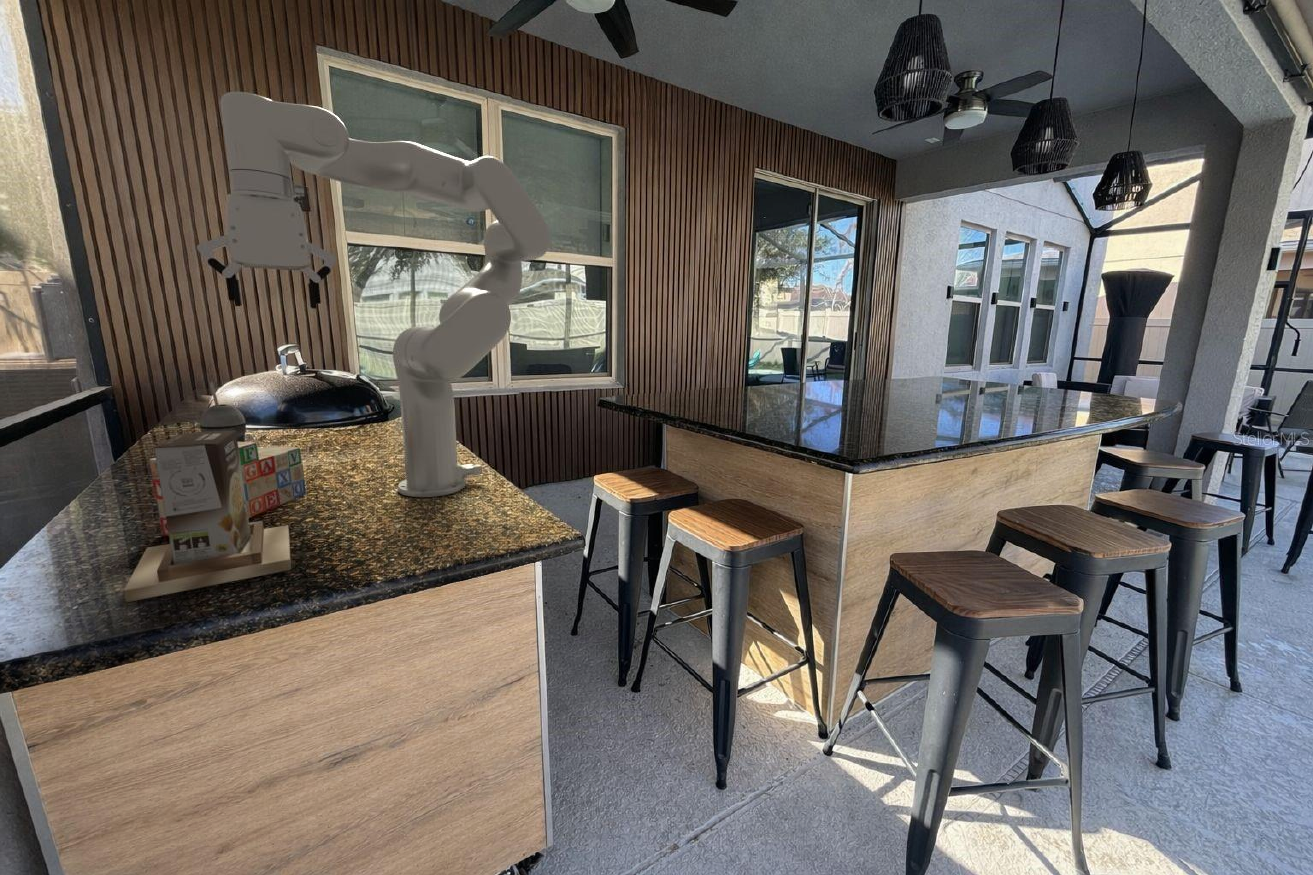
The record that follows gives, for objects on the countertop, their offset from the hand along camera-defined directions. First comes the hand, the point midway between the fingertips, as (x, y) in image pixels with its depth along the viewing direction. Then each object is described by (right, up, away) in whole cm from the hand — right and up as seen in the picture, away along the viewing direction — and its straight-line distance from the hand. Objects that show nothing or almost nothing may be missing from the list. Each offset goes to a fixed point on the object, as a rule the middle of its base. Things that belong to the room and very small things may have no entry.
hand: (277, 307), depth 83 cm
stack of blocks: (-11, -34, +7) cm, 36 cm away
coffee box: (0, -36, -11) cm, 38 cm away
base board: (0, -38, -11) cm, 39 cm away
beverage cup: (-26, -29, +24) cm, 46 cm away
